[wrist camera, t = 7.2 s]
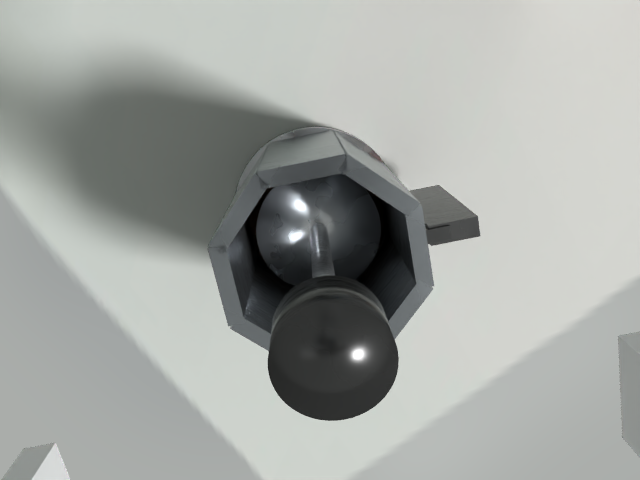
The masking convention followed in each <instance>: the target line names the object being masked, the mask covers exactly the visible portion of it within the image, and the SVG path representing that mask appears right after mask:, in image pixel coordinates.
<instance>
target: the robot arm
mask: <svg viewBox="0 0 640 480" xmlns="http://www.w3.org/2000/svg"><path fill="white" fill-rule="evenodd" d="M618 344H619V368H620V392H621V415H622V438H623V439H624V440H625V441H626V442H627V443H628V445H629V446H630V447H631V448H632V449H633V450H634V451H635V453H636V454H637V455H638V456H639V457H640V332H636V333H631V334H625V335H620V336H618ZM2 480H70V477H69V475H68V473H67V470H66V467H65V465H64V463H63V460H62V457H61V455H60V453H59V450H58V447H57V445H56V443H51V444H46V445H41V446H35V447H30V448H24V449H23V450H22V452H21V453H20V455H19V456H18V457H17V459H16V460H15V462H14V463H13V464H12V466H11V467H10V468H9V470H8V471H7V473H6V474H5V475H4V477H3V478H2Z"/></svg>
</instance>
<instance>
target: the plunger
mask: <svg viewBox="0 0 640 480" xmlns="http://www.w3.org/2000/svg"><path fill="white" fill-rule="evenodd" d="M256 237H257V242H258V246H259V250H260V252H261V255H262V257H263V259H264V260H265V262H266V263H267V265H268V266H269V267H270V269H271V270H272V271H273V272H274V273H275V274H276V275H277V276H278V277H280V278H281V279H283V280H284V281H286V282H288V283H290V284H291V285H294V286H295V287H294V288H292V289H291V290H290V291H289V292H288V293H287V294H286V295H285V296H284V297H283V299H282V300H281V301H280V303H279V305H278V306H277V308H276V311H275V313H274V317H273V321H272V330H271V338H270V347H269V355H268V371H269V376H270V379H271V382H272V385H273V387H274V389H275V391H276V392H277V394H278V395H279V396H280V398H281V399H282V400H283V401H284V402H285V403H286V404H287V405H288V406H290V407H291V408H292V409H294V410H295V411H297V412H299V413H301V414H303V415H305V416H308V417H311V418H315V419H319V420H328V421H332V420H344V419H349V418H353V417H355V416H358V415H361V414H363V413H365V412H367V411H368V410H370V409H371V408H373V407H374V406H376V405H377V404H378V403H379V402H380V401H381V400H382V399H383V398H384V397H385V396H386V395H387V393H388V392H389V390H390V389H391V387H392V385H393V383H394V381H395V378H396V375H397V370H398V350H397V346H396V343H395V340H394V337H393V334H392V331H391V329H390V326H389V323H388V320H387V317H386V314H385V312H384V309H383V307H382V305H381V303H380V301H379V300H378V298H377V297H376V296H375V294H374V293H373V292H372V291H371V290H369V289H368V288H367V287H366V286H364V285H363V284H361V283H359V282H357V281H355V280H354V279H355V278H356V277H358V276H359V275H360V274H361V273H362V272H363V271H365V269H366V268H367V267H368V266H369V265H370V263H371V261H372V260H373V258H374V256H375V254H376V252H377V249H378V246H379V242H380V237H381V223H380V217H379V213H378V210H377V208H376V205H375V203H374V201H373V200H372V198H371V196H370V194H369V193H368V192H367V190H366V189H365V188H364V187H363V186H361V185H360V184H358V183H357V182H355V181H354V180H352V179H351V178H349V177H348V176H346V175H345V174H343V173H341V174H336V175H331V176H326V177H321V178H316V179H311V180H306V181H301V182H296V183H291V184H286V185H281V186H276V187H273V188H272V189H271V190H270V192H269V193H268V194H267V196H266V198H265V199H264V201H263V203H262V206H261V208H260V211H259V215H258V219H257V226H256Z"/></svg>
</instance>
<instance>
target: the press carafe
mask: <svg viewBox="0 0 640 480" xmlns="http://www.w3.org/2000/svg"><path fill="white" fill-rule="evenodd" d="M341 173H343V174H345V175H346V176H348V177H349V178H351V179H352V180H354V181H355V182H357V183H358V184H360V185H361V186H363V187H364V188H365V189H366V190H367V192H368V193H369V194H370V196H371V198H372V200H373V201H374V203H375V205H376V208H377V210H378V213H379V217H380V223H381V237H380V242H379V246H378V249H377V252H376V254H375V256H374V258H373V260H372V261H371V263H370V265H369V266H368V267H367V268H366V269H365V271H363V272H362V273H361V274H360V275H359V276H358V277H356V278H355V279H354V280H355V281H357V282H359V283H361V284H363V285H364V286H366V287H367V288H368V289H369V290H371V291H372V292H373V293H374V294H375V296H376V297H377V298H378V300H379V301H380V303H381V305H382V307H383V309H384V312H385V314H386V317H387V320H388V323H389V326H390V329H391V331H392V334H393V337H394V340H395V338H396V337H397V336H398V334H399V333H400V332H401V330H402V329H403V328H404V326H405V325H406V324H407V323H408V321H409V320H410V319H411V317H412V316H413V315H414V313H415V312H416V311H417V309H418V308H419V307H420V306H421V304H422V303H423V302H424V300H425V299H426V298H427V296H428V295H429V294H430V292H431V291H432V290H433V288H432V286H434V282H433V276H432V269H431V262H430V256H429V249H428V244H430V245H431V246H432V245H438V244H443V243H448V242H453V241H458V240H463V239H468V238H473V237H478V236H480V231H479V222H478V216H477V215H475V214H474V213H473V212H472V211H470V210H469V209H468V208H467V207H466V206H464V205H463V204H462V203H461V202H459V201H458V200H457V199H456V198H454V197H453V196H452V195H451V194H449V193H448V192H447V191H446V190H444V189H443V188H442V187H441V186H439V185H436V186H431V187H426V188H421V189H416V190H411V191H409V190H408V189H407V188H406V187H405V186H404V185H403V184H402V183H401V182H400V181H399V179H398V178H397V177H396V176H395V175H394V174H393V173H392V172H391V171H390V170H389V169H388V168H387V166H386V165H385V164H384V162H383V161H382V159H381V158H380V157H379V156H378V155H377V154H376V153H375V152H374V151H373V149H372V148H371V147H369V146H368V145H367V144H366V143H364V142H363V141H362V140H360V139H358V138H357V137H355V136H353V135H351V134H349V133H346V132H344V131H341V130H337V129H333V128H327V127H306V128H299V129H296V130H292V131H289V132H286V133H284V134H282V135H279V136H277V137H276V138H274V139H272V140H271V141H269V142H268V143H267V144H265V145H264V146H263V147H262V148H261V149H260V150H259V151H258V152H257V153H256V154H255V155H254V156H253V157H252V159H251V160H250V161H249V163H248V164H247V166H246V168H245V170H244V171H243V173H242V175H241V178H240V180H239V183H238V186H237V190H236V194H235V197H234V199H233V201H232V202H231V204H230V206H229V208H228V210H227V212H226V214H225V215H224V217H223V219H222V221H221V223H220V225H219V226H218V228H217V230H216V232H215V234H214V236H213V237H212V239H211V241H210V243H209V245H208V246H209V247H208V252H209V255H210V259H211V263H212V267H213V270H214V274H215V278H216V282H217V285H218V289H219V293H220V297H221V300H222V304H223V308H224V312H225V315H226V319H227V323H228V326H231V328H230V329H232V330H234V331H235V332H237V333H239V334H241V335H242V336H244V337H246V338H247V339H249V340H251V341H253V342H254V343H256V344H258V345H259V346H261V347H263V348H265V349H266V350H268V351H269V347H270V338H271V330H272V321H273V317H274V313H275V311H276V308H277V306H278V305H279V303H280V301H281V300H282V299H283V297H284V296H285V295H286V294H287V293H288V292H289V291H290V290H291V289H292V288H294V287H295V286H294V285H291V284H290V283H288V282H286V281H284V280H283V279H281V278H280V277H278V276H277V275H276V274H275V273H274V272H273V271H272V270H271V269H270V267H269V266H268V265H267V263H266V262H265V260H264V259H263V257H262V255H261V252H260V250H259V246H258V242H257V237H256V226H257V219H258V215H259V211H260V208H261V206H262V203H263V201H264V199H265V198H266V196H267V194H268V193H269V192H270V190H271V189H272V188H273V187H276V186H281V185H286V184H291V183H296V182H301V181H306V180H311V179H316V178H321V177H326V176H331V175H336V174H341Z"/></svg>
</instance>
